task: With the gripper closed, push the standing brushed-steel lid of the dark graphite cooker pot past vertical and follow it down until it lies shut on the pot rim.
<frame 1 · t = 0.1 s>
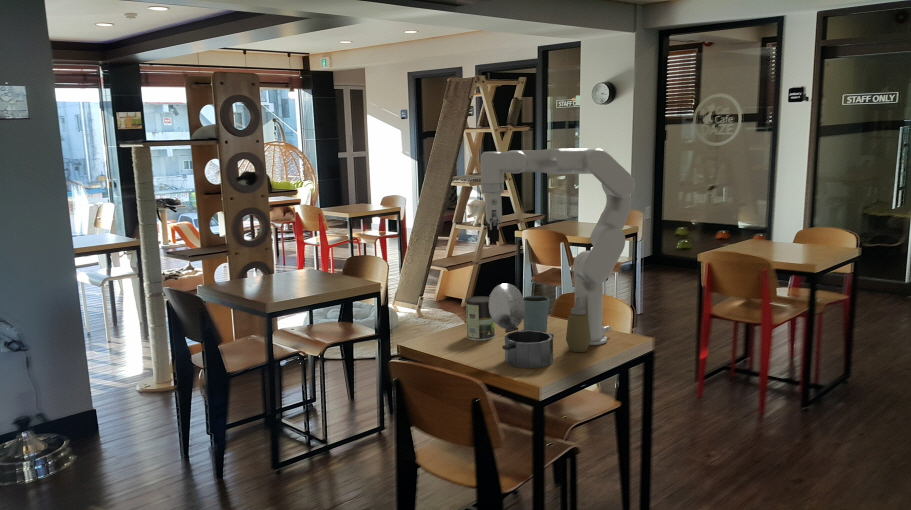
hand: (493, 239, 239), 37 cm above the table, tool pointing down, fingers open, 9 cm apart
coffee can: (480, 337, 256), on the table
pot: (528, 360, 227), on the table
squeeze bottle: (578, 350, 237), on the table
blue-green cup: (535, 330, 263), on the table
lid: (505, 307, 233), point 16 cm above the table, hinge at 105.0°
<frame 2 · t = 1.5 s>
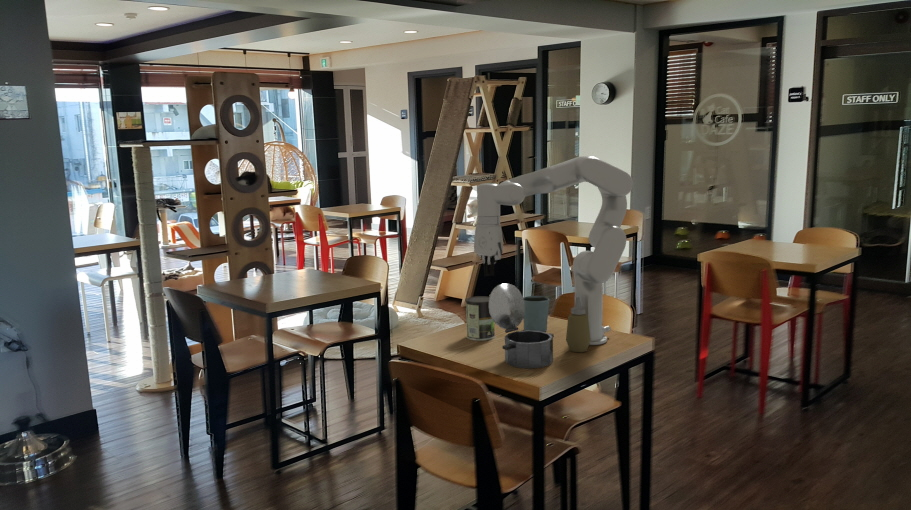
hand: (489, 275, 237), 26 cm above the table, tool pointing down, fingers closed
nothing on the table moved.
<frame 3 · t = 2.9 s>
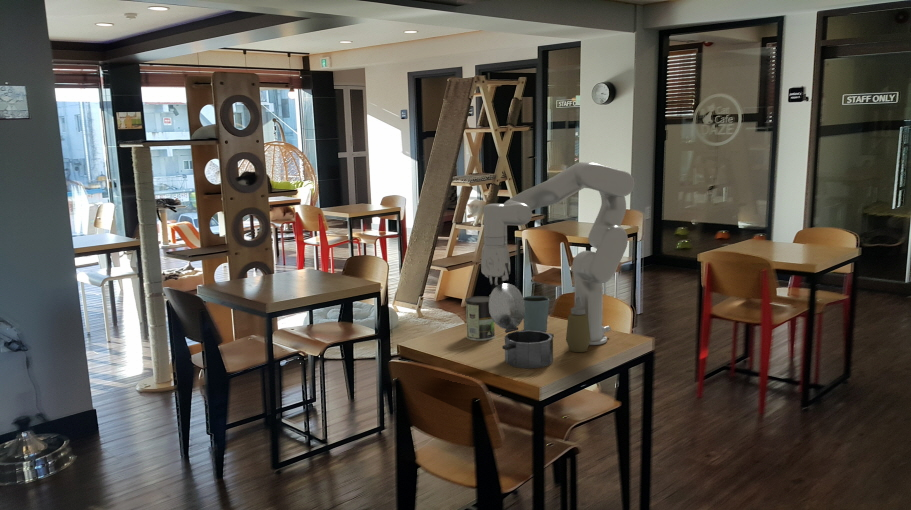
hand: (496, 295, 235), 19 cm above the table, tool pointing down, fingers closed
lid: (505, 307, 233), point 16 cm above the table, hinge at 104.9°, touching gripper
everything else where it was.
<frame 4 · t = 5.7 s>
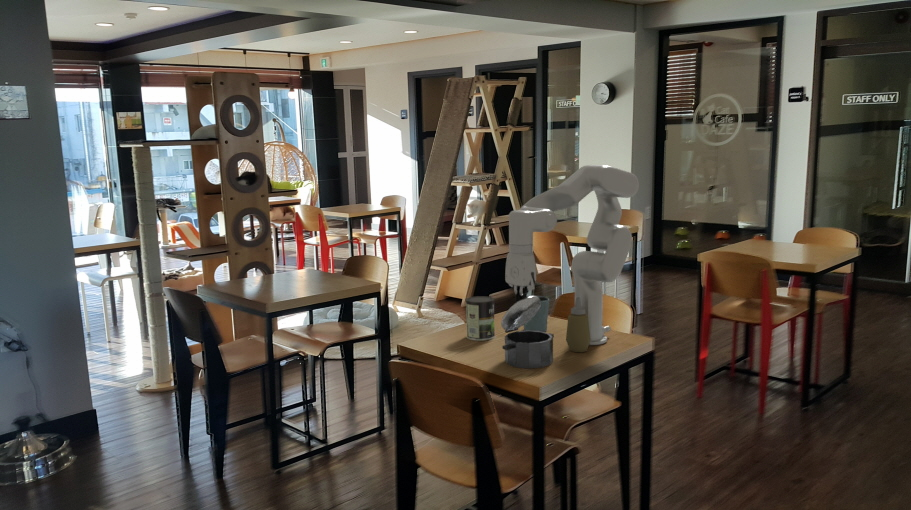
hand: (521, 306, 226), 18 cm above the table, tool pointing down, fingers closed
lid: (519, 312, 228), point 15 cm above the table, hinge at 54.2°, touching gripper
everything else where it was.
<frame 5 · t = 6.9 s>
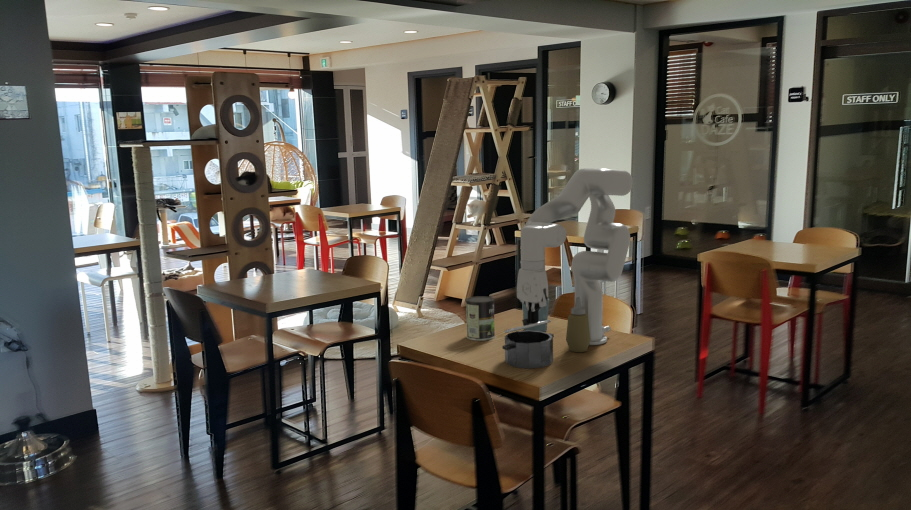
hand: (533, 322, 223), 13 cm above the table, tool pointing down, fingers closed
lid: (525, 323, 226), point 12 cm above the table, hinge at 19.8°, touching gripper
everything else where it was.
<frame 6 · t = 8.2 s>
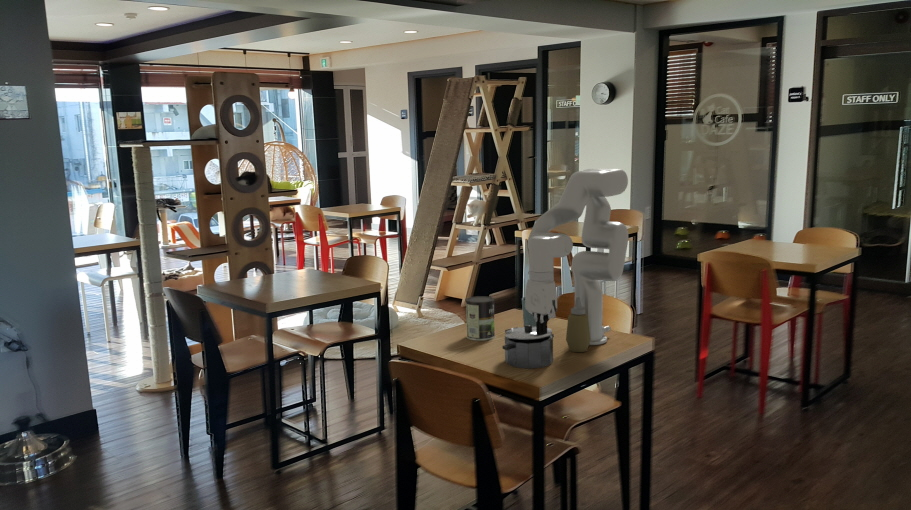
hand: (541, 333, 220), 10 cm above the table, tool pointing down, fingers closed
lid: (527, 329, 226), point 10 cm above the table, hinge at 4.1°, touching gripper
everything else where it was.
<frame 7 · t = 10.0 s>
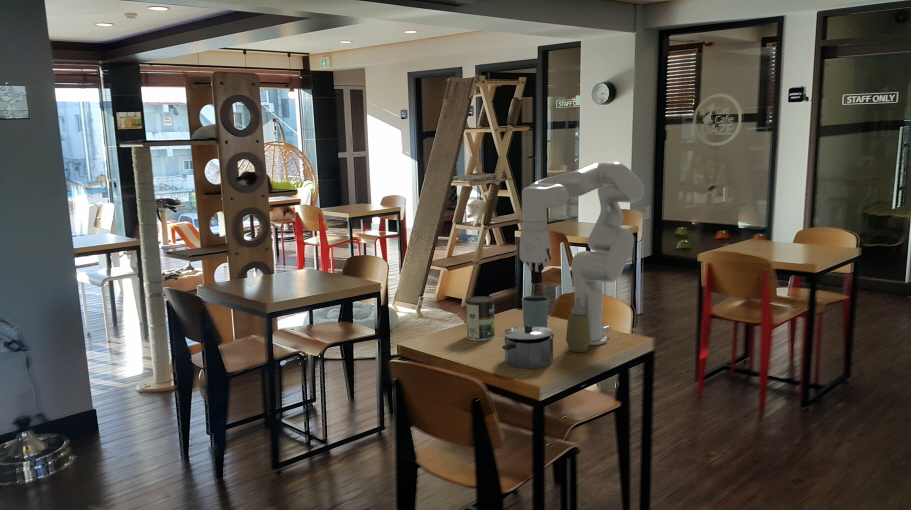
hand: (536, 282, 225), 25 cm above the table, tool pointing down, fingers closed
lid: (527, 329, 226), point 10 cm above the table, hinge at 4.0°
everything else where it was.
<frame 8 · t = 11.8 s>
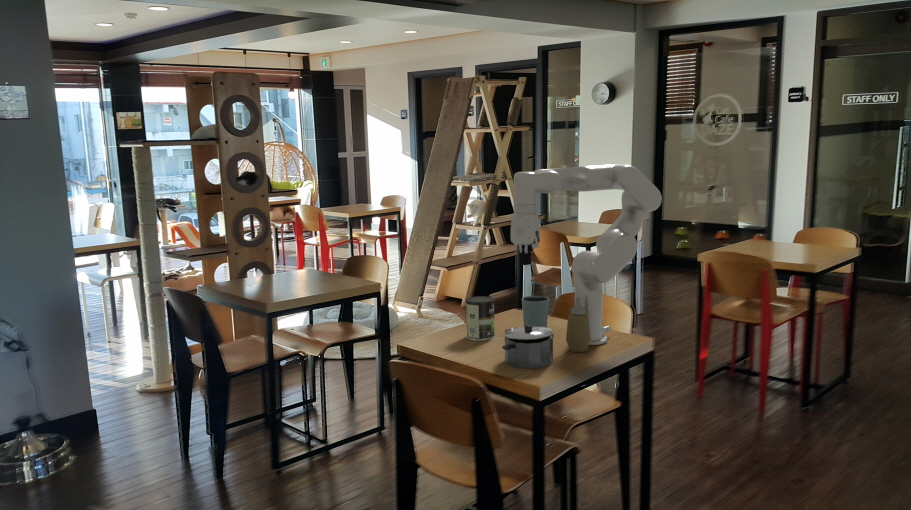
hand: (526, 264, 235), 29 cm above the table, tool pointing down, fingers closed
nothing on the table moved.
at the end: lid at +4° (first picture: +105°) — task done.
